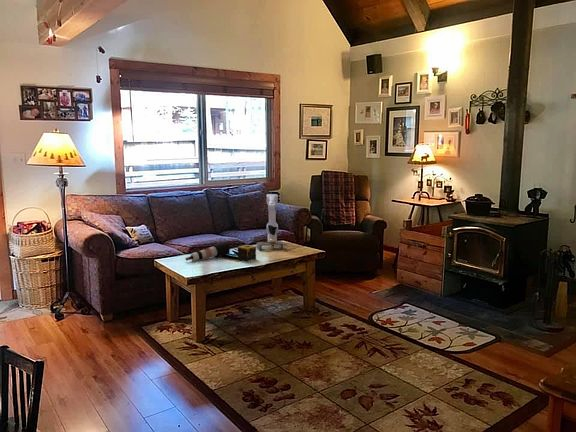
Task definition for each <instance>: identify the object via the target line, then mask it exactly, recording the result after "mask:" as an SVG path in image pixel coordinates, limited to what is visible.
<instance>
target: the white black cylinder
mask: <svg viewBox="0 0 576 432" xmlns="http://www.w3.org/2000/svg"><path fill="white" fill-rule="evenodd" d="M230 249H231V248H230V245H229V243H228V242H226V241H222V242H218V243H214V244H212V245H211V246H210V247H207V248H205V249H202V250H198V251H195V252H191V254H190V256H187V257H185V261H190V260H191V261H192V262H197V261H201V260H204V259H205V260H206V259H209V258H216V259H217V258H220V257H223V256H226V255H229V254H230V251H231V250H230Z"/></svg>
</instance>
